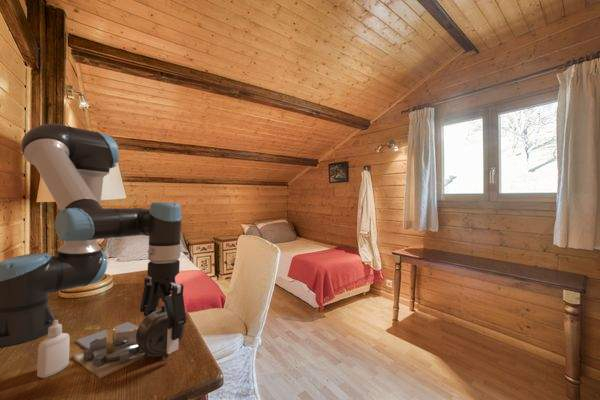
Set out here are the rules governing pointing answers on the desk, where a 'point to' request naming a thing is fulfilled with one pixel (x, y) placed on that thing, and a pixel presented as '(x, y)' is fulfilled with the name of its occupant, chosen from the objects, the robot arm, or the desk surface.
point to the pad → (104, 334)
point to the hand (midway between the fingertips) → (160, 345)
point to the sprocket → (113, 347)
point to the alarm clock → (155, 333)
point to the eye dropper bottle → (53, 351)
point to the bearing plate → (106, 364)
